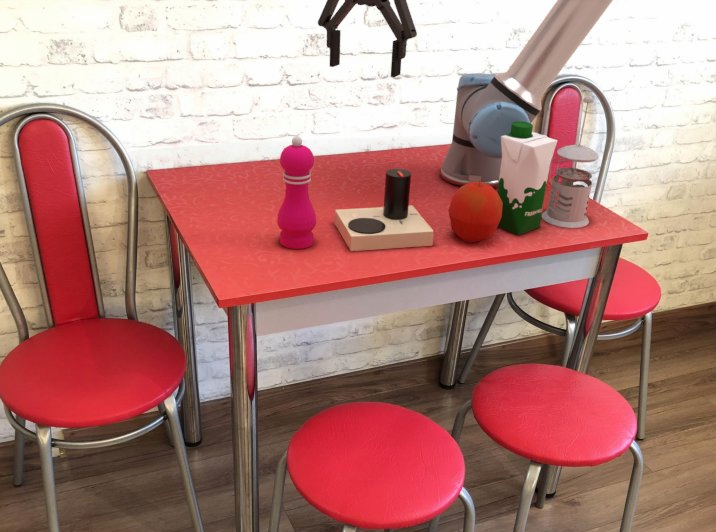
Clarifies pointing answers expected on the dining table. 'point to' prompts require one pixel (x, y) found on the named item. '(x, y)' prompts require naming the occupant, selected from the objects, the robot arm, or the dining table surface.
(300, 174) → the pepper mill
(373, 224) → the burner
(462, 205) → the apple
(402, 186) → the hob knob
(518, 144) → the milk carton
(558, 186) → the french press
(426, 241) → the hob
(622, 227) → the dining table surface
